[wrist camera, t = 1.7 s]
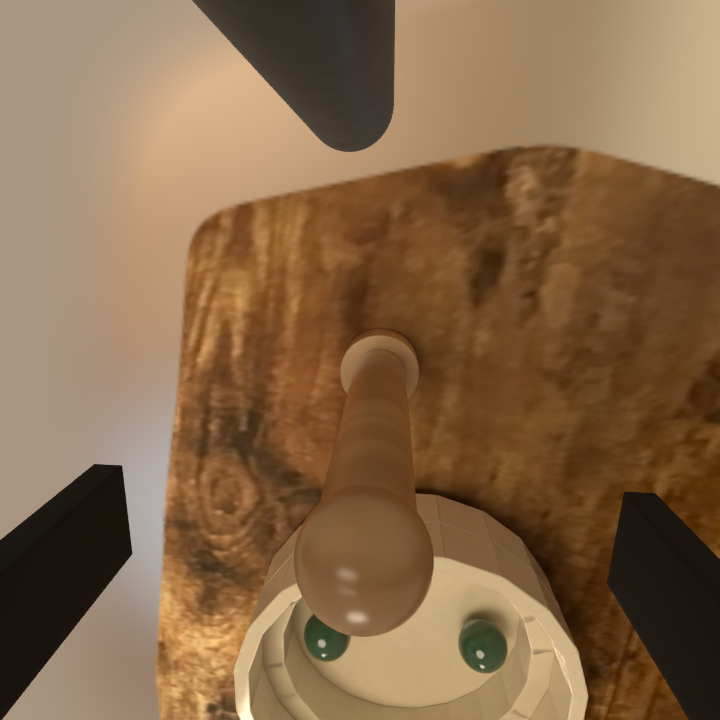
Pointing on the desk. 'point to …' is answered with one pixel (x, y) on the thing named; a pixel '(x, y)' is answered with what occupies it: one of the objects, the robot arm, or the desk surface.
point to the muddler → (368, 501)
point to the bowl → (421, 640)
